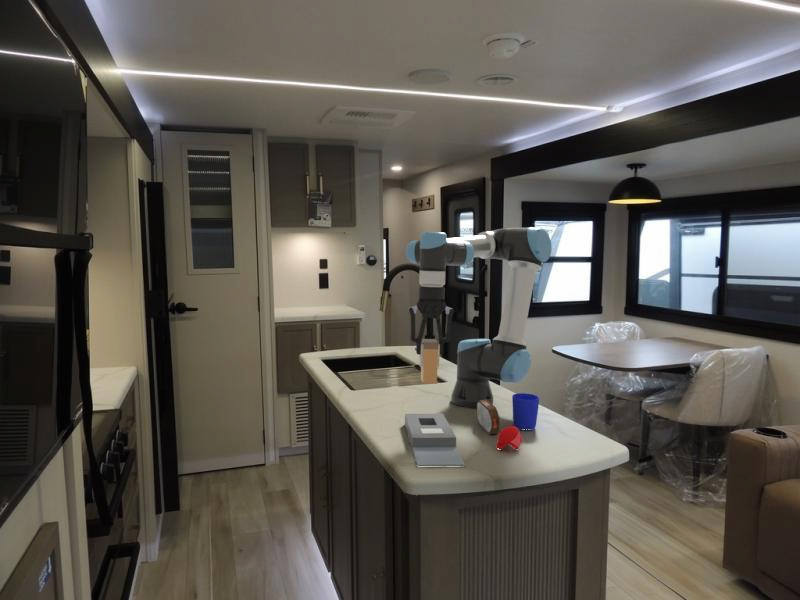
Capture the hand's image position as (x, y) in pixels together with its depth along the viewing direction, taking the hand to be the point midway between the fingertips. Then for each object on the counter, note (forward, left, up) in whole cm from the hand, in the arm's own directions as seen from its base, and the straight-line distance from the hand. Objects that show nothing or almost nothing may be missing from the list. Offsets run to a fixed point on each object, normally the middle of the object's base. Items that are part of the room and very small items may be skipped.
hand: (429, 365), depth 158 cm
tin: (-19, -5, -21) cm, 29 cm away
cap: (-21, +11, -21) cm, 32 cm away
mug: (-32, -8, -21) cm, 39 cm away
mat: (0, +18, -21) cm, 28 cm away
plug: (0, 0, -5) cm, 5 cm away
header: (0, +1, -21) cm, 21 cm away
